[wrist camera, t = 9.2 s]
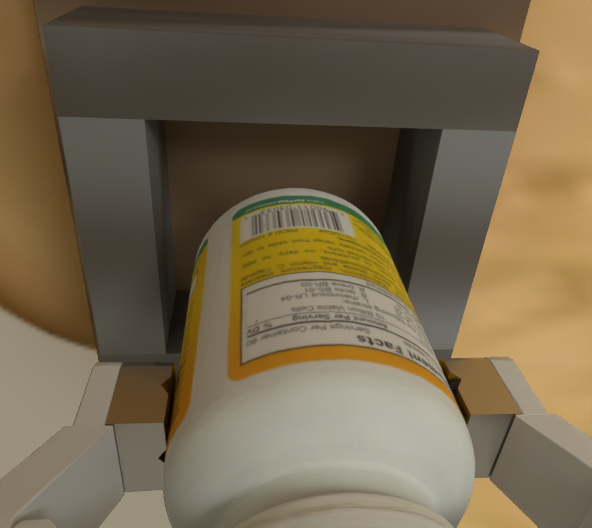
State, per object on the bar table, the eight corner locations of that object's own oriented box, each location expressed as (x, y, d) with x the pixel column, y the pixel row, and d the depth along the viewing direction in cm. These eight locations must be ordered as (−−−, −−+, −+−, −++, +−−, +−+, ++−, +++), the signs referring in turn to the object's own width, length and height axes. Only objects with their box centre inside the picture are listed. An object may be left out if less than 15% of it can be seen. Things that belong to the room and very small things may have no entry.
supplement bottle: (299, 139, 13) (405, 499, 5) (421, 271, 15) (631, 661, 7) (150, 271, 14) (35, 711, 6) (282, 372, 17) (323, 785, 9)
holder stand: (20, -144, 13) (-66, -173, 10) (539, -100, 15) (642, -109, 11) (109, 376, 23) (84, 464, 19) (420, 369, 24) (454, 450, 21)
